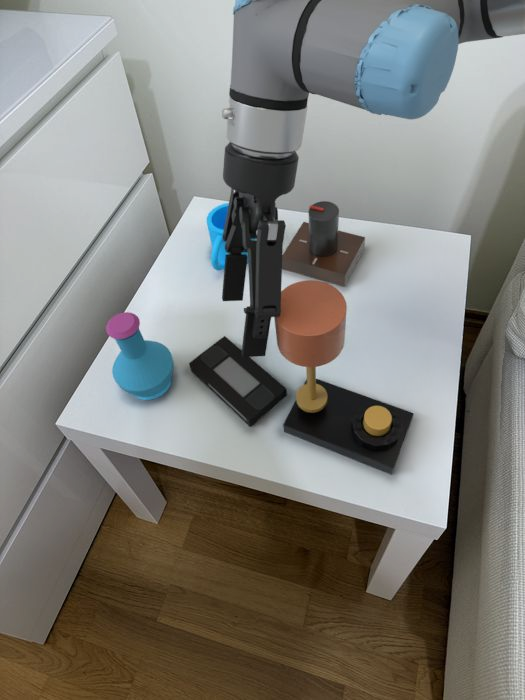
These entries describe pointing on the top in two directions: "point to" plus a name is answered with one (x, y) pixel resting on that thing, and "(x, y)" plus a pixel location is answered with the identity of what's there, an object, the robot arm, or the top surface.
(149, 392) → the perfume bottle
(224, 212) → the mug
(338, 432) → the lamp base
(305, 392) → the lamp
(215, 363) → the vhs tape
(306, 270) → the dimmer panel
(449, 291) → the top surface
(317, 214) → the dimmer
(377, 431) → the switch
